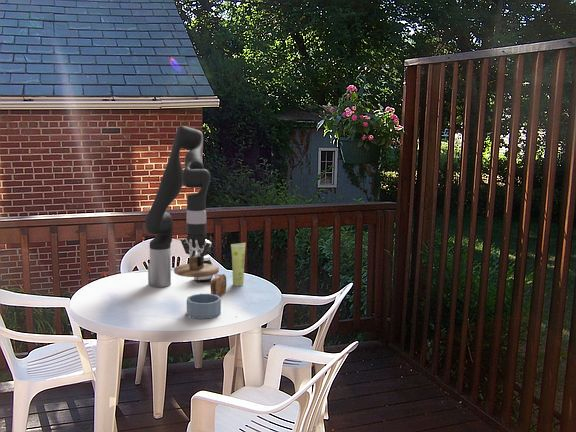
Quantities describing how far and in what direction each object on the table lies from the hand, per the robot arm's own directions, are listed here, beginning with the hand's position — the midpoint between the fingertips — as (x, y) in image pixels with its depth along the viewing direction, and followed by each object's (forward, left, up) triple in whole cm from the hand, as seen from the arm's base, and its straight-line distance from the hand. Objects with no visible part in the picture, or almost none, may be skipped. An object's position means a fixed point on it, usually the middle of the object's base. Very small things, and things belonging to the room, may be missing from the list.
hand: (196, 265), depth 226 cm
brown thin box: (-6, +25, -20) cm, 32 cm away
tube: (-7, +43, -20) cm, 48 cm away
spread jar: (-23, +42, -20) cm, 51 cm away
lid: (0, 0, -2) cm, 2 cm away
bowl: (+2, +2, -19) cm, 20 cm away
